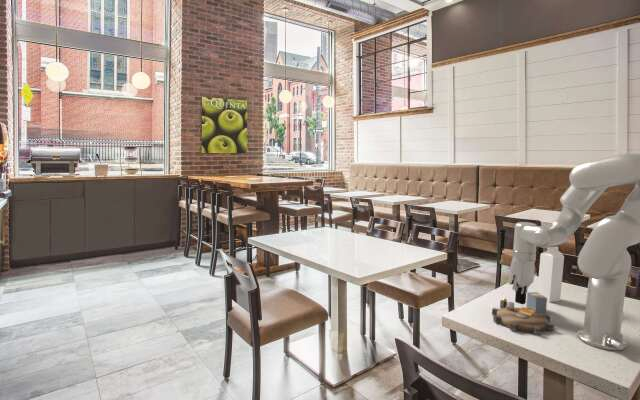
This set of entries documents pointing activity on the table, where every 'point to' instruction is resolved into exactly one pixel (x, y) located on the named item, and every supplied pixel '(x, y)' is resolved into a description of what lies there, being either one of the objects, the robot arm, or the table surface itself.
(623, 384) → the table surface
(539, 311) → the link block
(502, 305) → the block with gold knob
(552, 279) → the milk
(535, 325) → the sprocket
